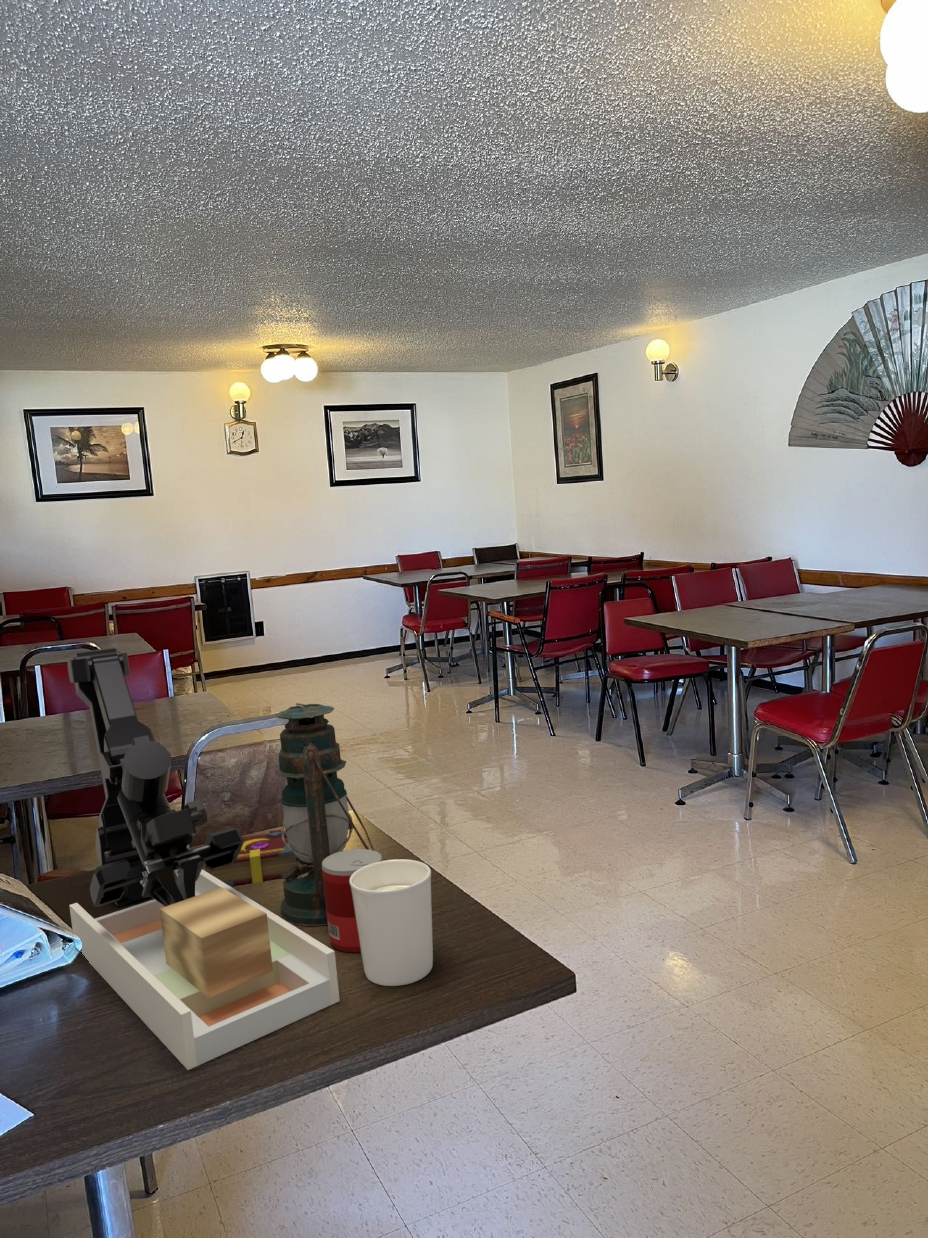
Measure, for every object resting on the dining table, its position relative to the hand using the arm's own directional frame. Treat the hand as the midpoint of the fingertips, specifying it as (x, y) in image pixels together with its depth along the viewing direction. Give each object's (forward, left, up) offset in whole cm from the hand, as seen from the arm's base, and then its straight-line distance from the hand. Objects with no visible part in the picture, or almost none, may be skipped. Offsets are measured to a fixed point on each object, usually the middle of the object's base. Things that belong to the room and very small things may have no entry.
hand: (192, 923), depth 111 cm
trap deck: (-1, 0, -7) cm, 7 cm away
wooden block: (+6, 0, -4) cm, 7 cm away
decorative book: (-27, +22, -7) cm, 35 cm away
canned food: (+8, +19, -7) cm, 22 cm away
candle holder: (+18, +18, -7) cm, 26 cm away
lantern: (-5, +22, -7) cm, 24 cm away
